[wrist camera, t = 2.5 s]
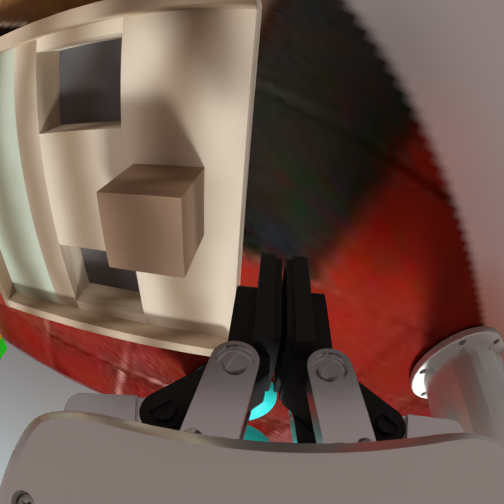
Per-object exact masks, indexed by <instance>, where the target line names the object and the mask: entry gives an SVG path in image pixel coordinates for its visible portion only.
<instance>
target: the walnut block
mask: <svg viewBox="0 0 504 504" xmlns="http://www.w3.org/2000/svg"><path fill="white" fill-rule="evenodd" d="M204 176H205V168H204V167H190V166H174V165H153V164H133V165H131V166H130V167H129V168H127V169H126V170H125V171H123V172H122V173H121V174H119V175H118V176H117V177H115V178H114V179H113V180H111V181H110V182H109V183H107V184H106V185H105V186H104V187H102V188H101V189H100V190H98V191H97V192H96V193H97V200H98V207H99V214H100V220H101V226H102V232H103V237H104V243H105V248H106V253H107V258H108V263H109V267H113V268H119V269H125V270H132V271H138V272H145V273H151V274H158V275H165V276H172V277H179V278H185V277H186V274H187V272H188V270H189V268H190V265H191V263H192V261H193V259H194V256H195V254H196V252H197V250H198V247H199V245H200V243H201V241H202V239H203V236H204Z"/></svg>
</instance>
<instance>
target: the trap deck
mask: <svg viewBox="0 0 504 504" xmlns="http://www.w3.org/2000/svg"><path fill="white" fill-rule="evenodd" d="M261 15H262V2H261V0H103V1H99V2H95V3H91V4H87V5H84V6H80V7H77V8H73V9H70V10H67V11H64V12H61V13H58V14H55V15H52V16H49V17H46V18H43V19H41V20H38V21H35V22H33V23H30V24H28V25H25V26H23V27H21V28H18V29H16V30H14V31H11V32H9V33H7V34H5V35H3V36H1V37H0V292H1V294H2V296H3V299H4V301H5V303H6V305H7V306H9V307H12V308H15V309H18V310H21V311H24V312H27V313H30V314H33V315H36V316H39V317H42V318H45V319H49V320H52V321H55V322H58V323H62V324H65V325H69V326H72V327H76V328H79V329H83V330H87V331H90V332H94V333H98V334H102V335H106V336H110V337H114V338H118V339H122V340H127V341H131V342H136V343H140V344H145V345H150V346H154V347H159V348H164V349H170V350H175V351H180V352H186V353H192V354H197V355H203V356H211V353H212V352H213V350H214V349H215V348H216V347H217V346H218V345H220V344H222V343H224V342H227V341H228V336H229V330H230V324H231V318H232V312H233V307H234V301H235V295H236V289H237V286H240V277H241V263H242V249H243V235H244V221H245V208H246V195H247V182H248V169H249V156H250V143H251V131H252V119H253V107H254V95H255V83H256V71H257V60H258V48H259V37H260V26H261ZM133 164H153V165H174V166H190V167H204V168H205V176H204V236H203V239H202V241H201V243H200V245H199V247H198V250H197V252H196V254H195V256H194V259H193V261H192V263H191V265H190V268H189V270H188V272H187V274H186V277H185V278H179V277H172V276H165V275H158V274H151V273H145V272H138V271H132V270H125V269H119V268H113V267H109V263H108V258H107V253H106V248H105V243H104V237H103V232H102V226H101V220H100V214H99V207H98V200H97V193H96V192H97V191H98V190H100V189H101V188H102V187H104V186H105V185H106V184H107V183H109V182H110V181H111V180H113V179H114V178H115V177H117V176H118V175H119V174H121V173H122V172H123V171H125V170H126V169H127V168H129V167H130V166H131V165H133Z"/></svg>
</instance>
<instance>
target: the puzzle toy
mask: <svg viewBox="0 0 504 504" xmlns="http://www.w3.org/2000/svg"><path fill="white" fill-rule="evenodd" d="M6 350H7V346H6V344H5V342H4V340H3V338H2V336H1V333H0V359H1V357H2V355H3V354H4V353H5V351H6Z"/></svg>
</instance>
